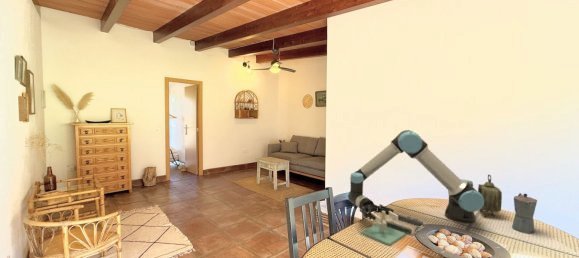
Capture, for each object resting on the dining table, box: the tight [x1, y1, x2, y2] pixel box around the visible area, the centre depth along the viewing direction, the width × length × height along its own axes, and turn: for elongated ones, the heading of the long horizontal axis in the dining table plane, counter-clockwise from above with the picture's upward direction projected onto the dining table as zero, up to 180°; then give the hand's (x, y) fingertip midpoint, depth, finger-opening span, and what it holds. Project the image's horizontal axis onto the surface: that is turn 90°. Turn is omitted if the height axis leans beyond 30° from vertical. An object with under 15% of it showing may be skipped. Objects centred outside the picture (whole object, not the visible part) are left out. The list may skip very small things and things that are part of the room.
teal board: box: [360, 222, 407, 247], centre depth 134 cm, size 16×16×1 cm
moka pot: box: [511, 193, 538, 235], centre depth 138 cm, size 10×15×20 cm, turn 160°
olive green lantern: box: [477, 174, 503, 218], centre depth 157 cm, size 14×9×25 cm, turn 153°
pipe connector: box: [372, 211, 395, 231], centre depth 133 cm, size 10×10×10 cm
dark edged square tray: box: [386, 214, 424, 237], centre depth 144 cm, size 18×17×2 cm
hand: (388, 219), depth 129 cm, fingers closed on pipe connector, 9 cm apart
